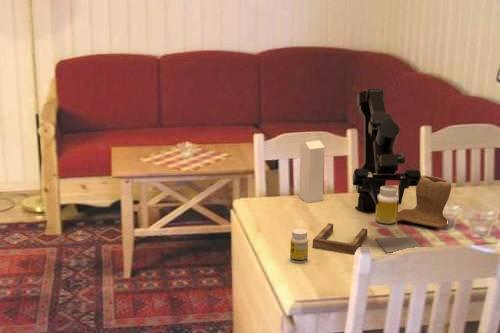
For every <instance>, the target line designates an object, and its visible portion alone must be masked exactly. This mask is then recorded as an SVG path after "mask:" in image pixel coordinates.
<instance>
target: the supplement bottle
mask: <svg viewBox="0 0 500 333" xmlns="http://www.w3.org/2000/svg"><path fill="white" fill-rule="evenodd" d="M291 235H292V236H291V237H290V256H289V258H290V261H291V262H293V263H296V264H302V263H303V264H304V263H306V262H308V252H309V251H308V250H309V238H308V231H307V230H306V229H303V228H294V229H292V232H291Z"/></svg>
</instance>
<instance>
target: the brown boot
mask: <svg viewBox="0 0 500 333" xmlns="http://www.w3.org/2000/svg"><path fill="white" fill-rule="evenodd" d="M451 190H452V184H451V182H450V181H449V180H447V179H445V178H441V177H437V176H431V175H425V174H424V175H421V178H420V181H419V183H418V185H417V186H415V197H416V198H415V200H416V206H415V207H414V208H412V209H411V208H402V209H401V210H398V217H397V220H399V221H400V220H401V221H405V222H408V223H412V224H417V225H422V226H427V227H433V228H444V227H446V226H448V224H447V219H448V218H447V217H446V218H447V219H446V218H445V216H444V209H445V207H446V206H447V202H448V201H449V198H450V196H451V195H450V194H451Z"/></svg>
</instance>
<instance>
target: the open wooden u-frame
mask: <svg viewBox="0 0 500 333" xmlns="http://www.w3.org/2000/svg"><path fill="white" fill-rule="evenodd" d="M333 232H334V223H329V222H328V223H327V224H326V225H325V227H323V228H322V229H321V230H320V231H319V232H318V234H317V235H316V236H315V237H313V239H312V248H313V249H318V250H324V251H330V252H335V253H337V252H338V253H342V254H343V253H344V254H348V255H349V254H350V255H354V254H355V253H356V252H357V250H358V249H359V248H360V247H361V245H362V244H363V243H364V242H365V240H366V239H367V238H368V228H365V227H364V228H363V227H362V228H361V230H360V231H359V232H358V233H357V234H356V235H355V236H354V238H353V239H352V240H351V242H345V241H344V242H343V241H337V240H330V239H328V238H329V237H330V236H331V235H332V234H333ZM359 246H360V247H359ZM358 247H359V248H358ZM357 248H358V249H357ZM356 249H357V250H356ZM355 251H356V252H355ZM354 252H355V253H354Z"/></svg>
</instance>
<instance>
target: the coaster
mask: <svg viewBox="0 0 500 333" xmlns="http://www.w3.org/2000/svg"><path fill="white" fill-rule="evenodd" d="M375 241H376V243H377V244H378V245H379V246H380V248H381V249H382V250H383V251H384V253H385V254H386V255H388V254H387V253H393V252H396V251H399V250H403V249H406V248H415V247H422V246H421V245H420V244H419V243H418V242H417V240H416V239H414V237H413V236H402V237H401V236H400V237H398V236H397V237H376V238H375Z"/></svg>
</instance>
